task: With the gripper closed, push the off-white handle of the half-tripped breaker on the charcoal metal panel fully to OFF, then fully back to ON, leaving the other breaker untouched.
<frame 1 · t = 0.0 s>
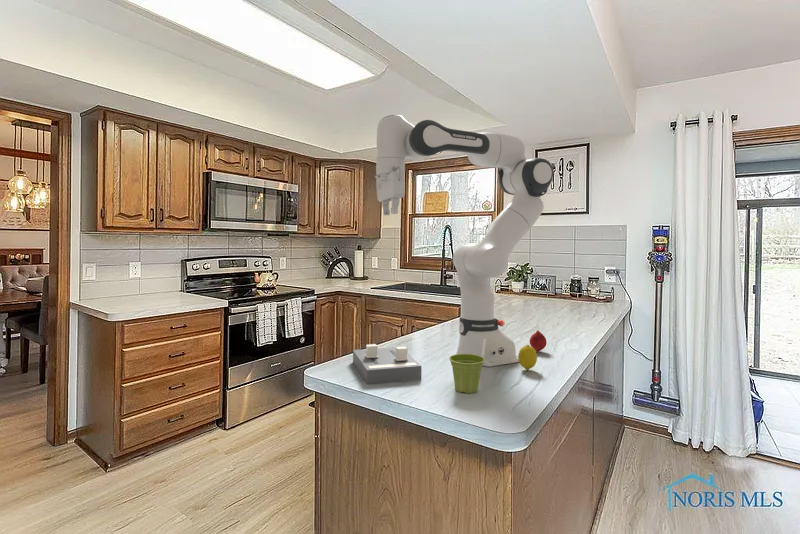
hand: (390, 214, 134), 48 cm above the countertop, fingers open, 8 cm apart
breaker on: (401, 353, 129), point 6 cm above the countertop, slide at 10.0 cm
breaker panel: (385, 370, 133), on the countertop
onion: (537, 352, 156), on the countertop
lemon: (527, 370, 134), on the countertop
tripped breaker: (371, 350, 132), point 6 cm above the countertop, slide at 5.0 cm
plant pot: (466, 390, 116), on the countertop
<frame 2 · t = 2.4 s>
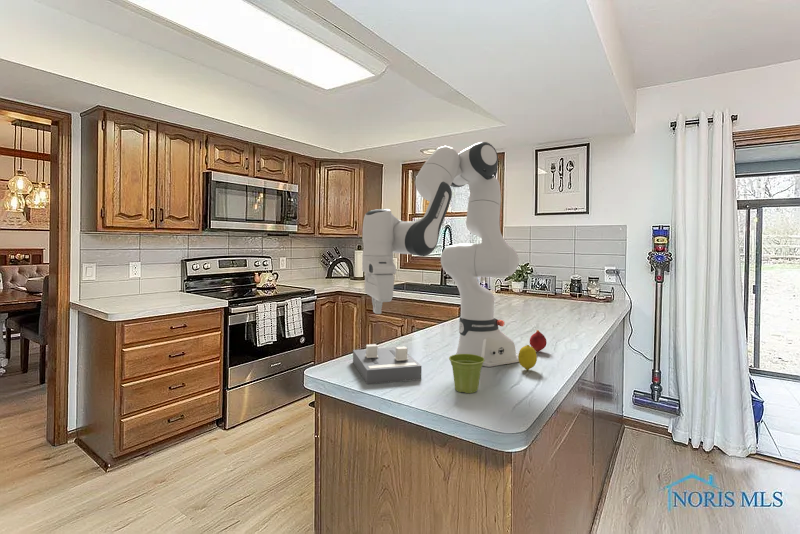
hand: (377, 313, 124), 19 cm above the countertop, fingers closed
nothing on the countertop moved.
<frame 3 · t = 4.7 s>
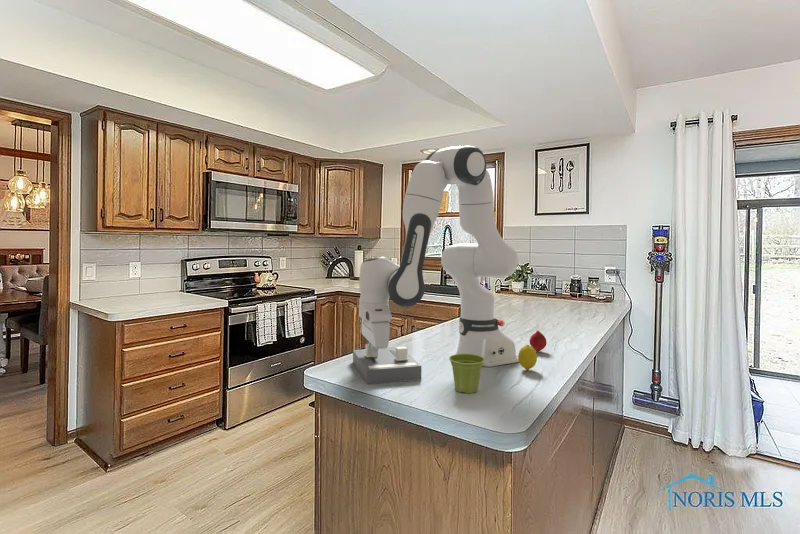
hand: (373, 356, 130), 5 cm above the countertop, fingers closed
tripped breaker: (371, 350, 133), point 6 cm above the countertop, slide at 4.2 cm, touching gripper
everything else where it was.
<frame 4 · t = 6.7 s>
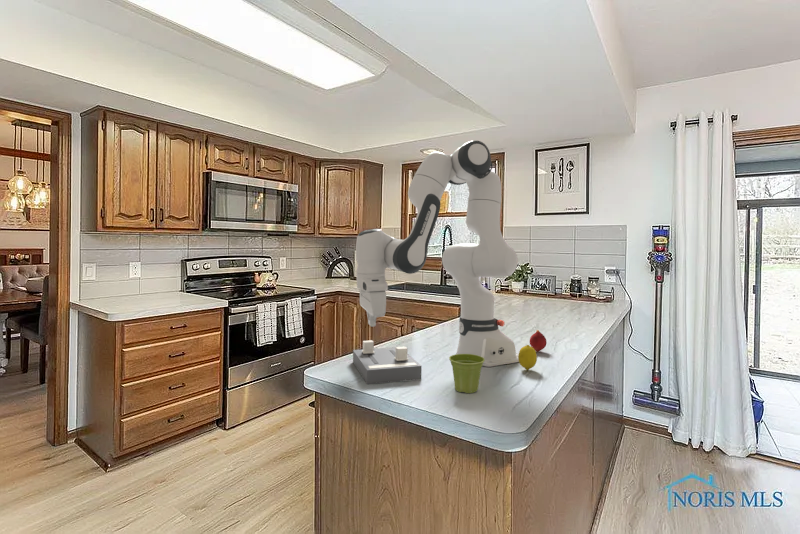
hand: (372, 325, 134), 13 cm above the countertop, fingers closed
tripped breaker: (368, 346, 137), point 6 cm above the countertop, slide at -0.1 cm
everything else where it was.
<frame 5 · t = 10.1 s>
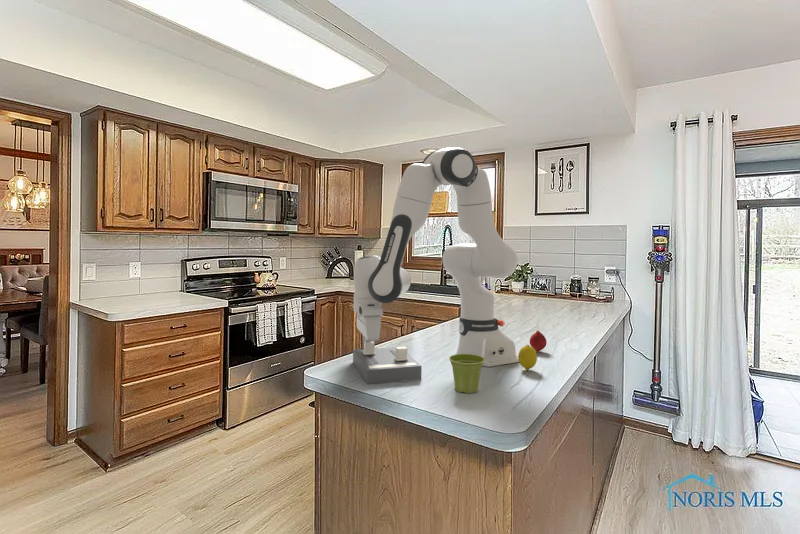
hand: (367, 348, 139), 5 cm above the countertop, fingers closed
tripped breaker: (369, 347, 136), point 6 cm above the countertop, slide at 1.2 cm, touching gripper
everything else where it was.
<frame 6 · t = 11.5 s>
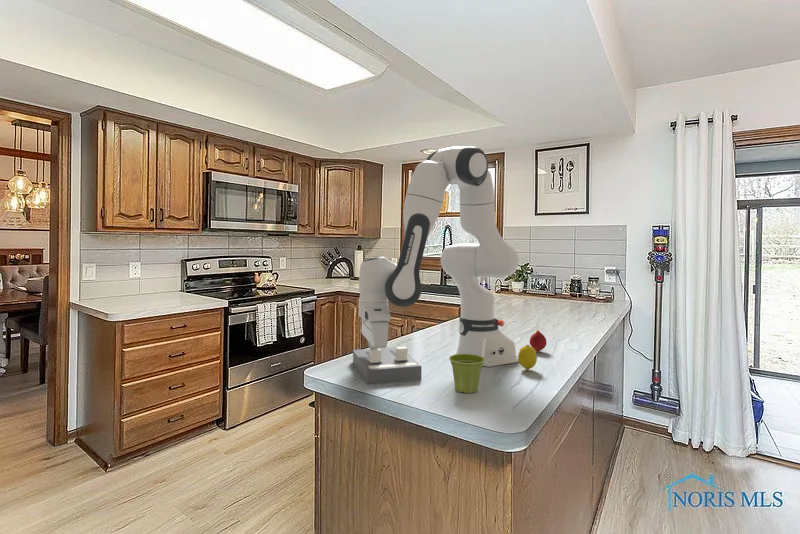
hand: (373, 355, 130), 5 cm above the countertop, fingers closed
tripped breaker: (375, 355, 127), point 6 cm above the countertop, slide at 10.1 cm, touching gripper
everything else where it was.
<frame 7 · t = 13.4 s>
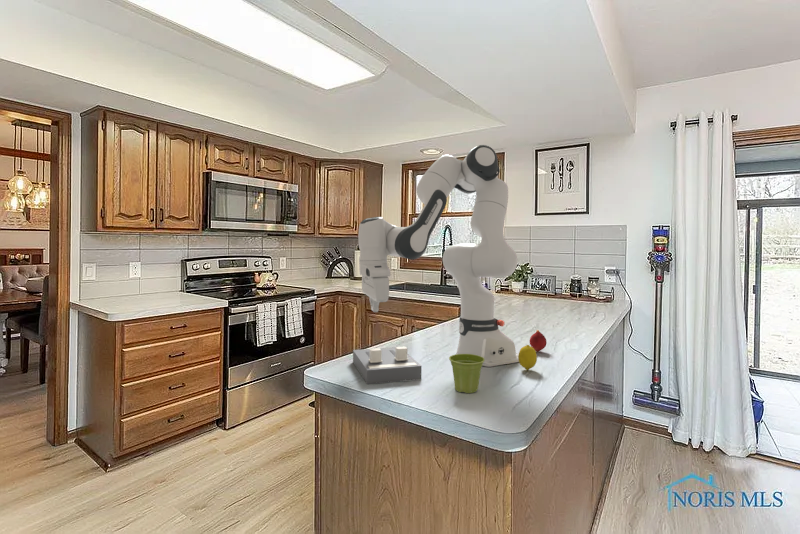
hand: (374, 311, 138), 17 cm above the countertop, fingers closed
tripped breaker: (375, 355, 127), point 6 cm above the countertop, slide at 10.1 cm
everything else where it was.
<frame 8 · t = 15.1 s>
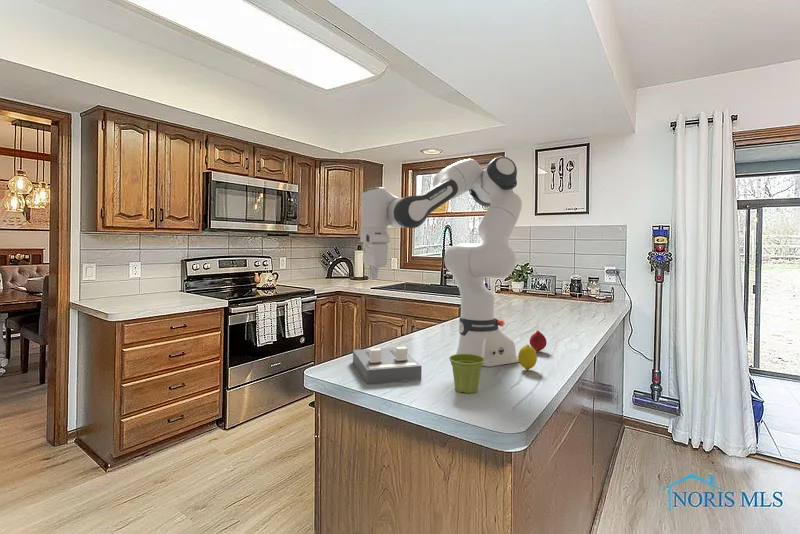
hand: (373, 279, 142), 27 cm above the countertop, fingers closed
nothing on the countertop moved.
at the end: tripped breaker slide at 10.1 cm; breaker on slide at 10.0 cm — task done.
